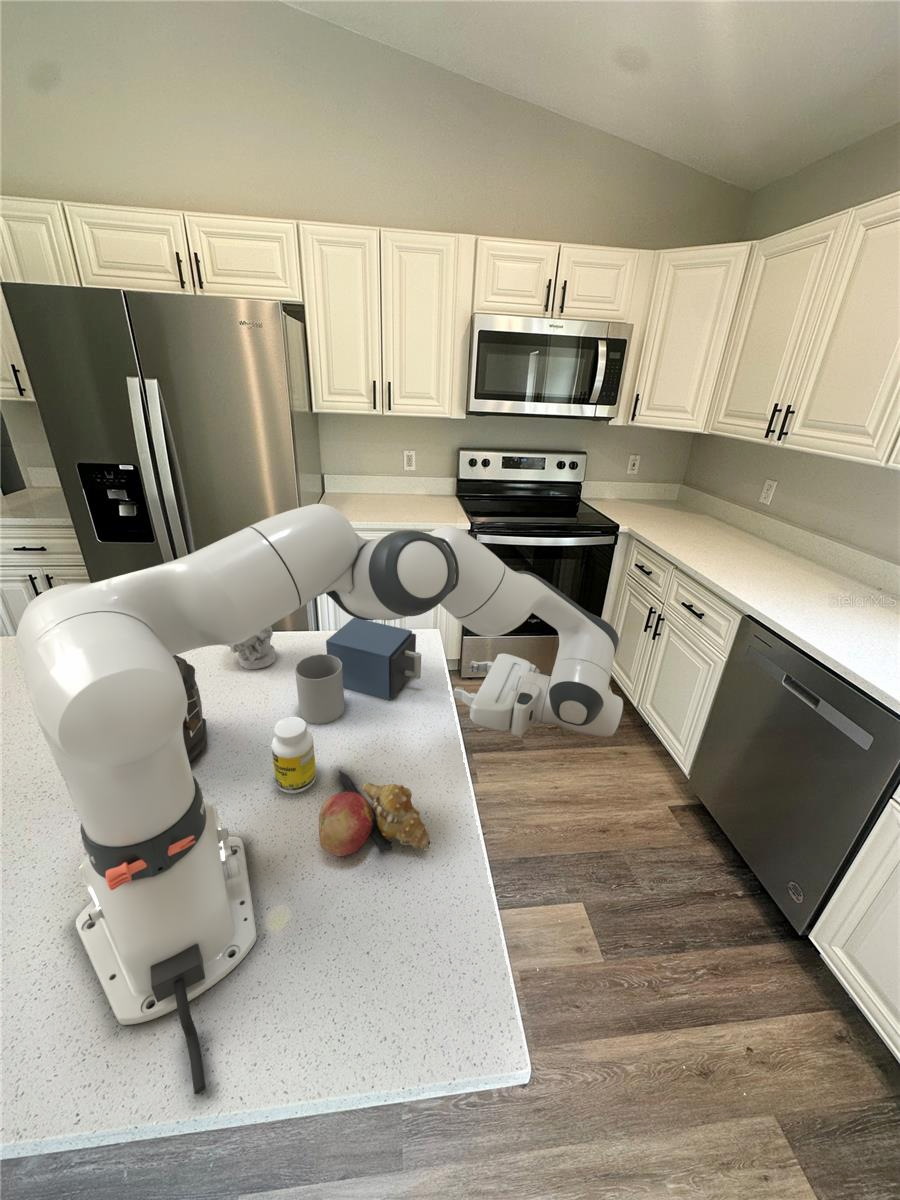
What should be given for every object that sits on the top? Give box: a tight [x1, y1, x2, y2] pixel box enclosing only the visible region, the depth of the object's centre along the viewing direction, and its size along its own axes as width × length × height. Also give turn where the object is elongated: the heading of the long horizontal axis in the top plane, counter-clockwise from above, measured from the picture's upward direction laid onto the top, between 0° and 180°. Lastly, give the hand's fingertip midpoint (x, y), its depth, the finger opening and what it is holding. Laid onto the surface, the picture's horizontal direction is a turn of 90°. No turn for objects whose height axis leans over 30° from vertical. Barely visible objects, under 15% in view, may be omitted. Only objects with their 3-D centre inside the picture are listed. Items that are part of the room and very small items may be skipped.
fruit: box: [318, 791, 375, 857], centre depth 68 cm, size 8×8×8 cm
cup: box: [294, 653, 345, 725], centre depth 92 cm, size 8×8×10 cm
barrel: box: [173, 654, 207, 765], centre depth 79 cm, size 18×18×16 cm
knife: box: [338, 769, 393, 852], centre depth 74 cm, size 18×1×3 cm
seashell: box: [362, 781, 431, 851], centre depth 70 cm, size 9×8×10 cm
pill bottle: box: [270, 716, 317, 794], centre depth 76 cm, size 6×6×11 cm
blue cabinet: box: [325, 617, 413, 701], centre depth 103 cm, size 14×11×10 cm
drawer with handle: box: [390, 633, 422, 698], centre depth 102 cm, size 17×11×9 cm, turn 70°
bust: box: [227, 625, 277, 670], centre depth 106 cm, size 11×10×15 cm
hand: (462, 678), depth 96 cm, fingers open, 8 cm apart
